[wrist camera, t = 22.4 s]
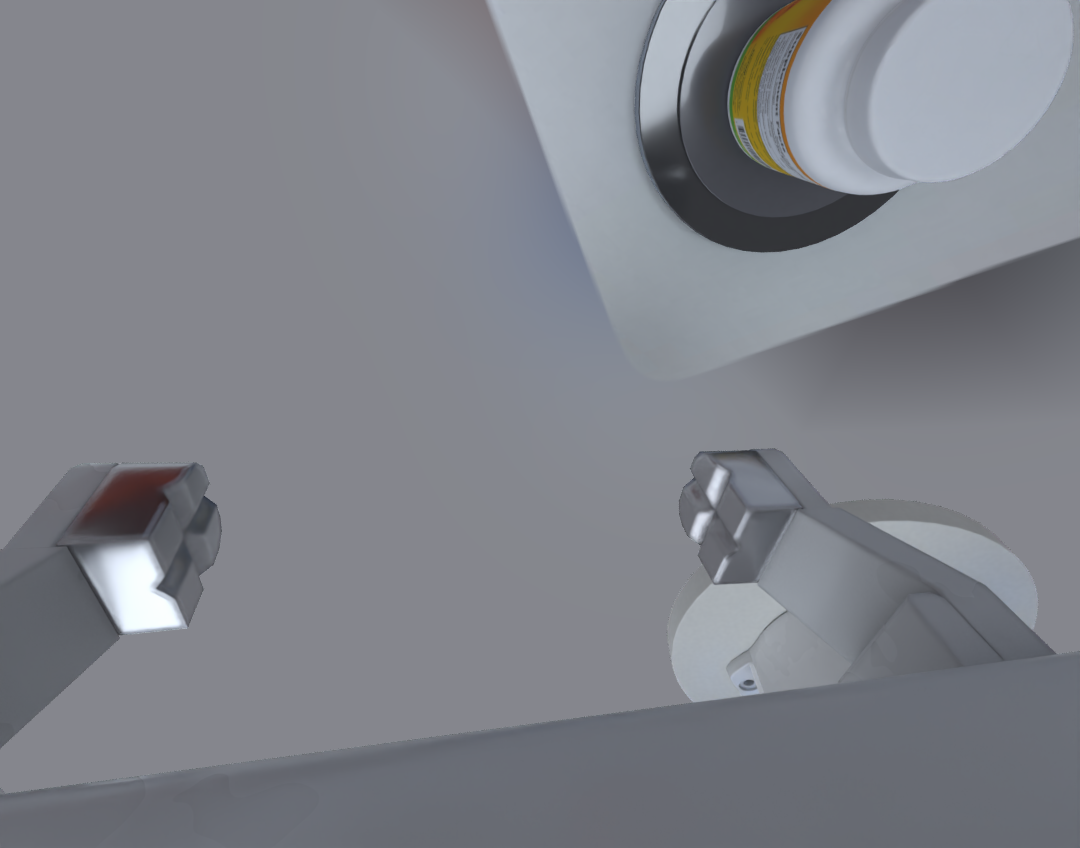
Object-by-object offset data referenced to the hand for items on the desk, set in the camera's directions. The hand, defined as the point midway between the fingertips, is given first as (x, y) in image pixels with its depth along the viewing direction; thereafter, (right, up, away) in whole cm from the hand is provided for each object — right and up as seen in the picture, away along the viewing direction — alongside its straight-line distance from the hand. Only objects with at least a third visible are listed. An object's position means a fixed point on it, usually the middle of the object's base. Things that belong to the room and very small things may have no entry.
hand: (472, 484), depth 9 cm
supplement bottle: (+11, +14, +11) cm, 20 cm away
